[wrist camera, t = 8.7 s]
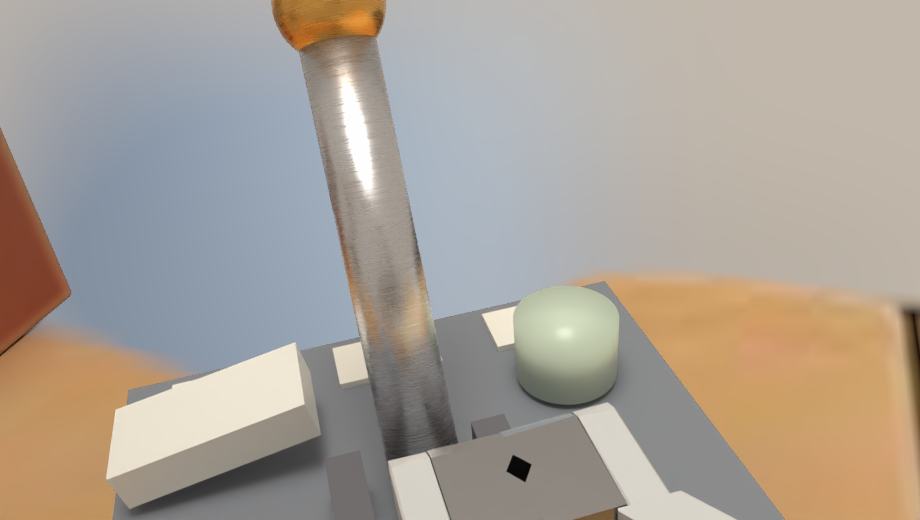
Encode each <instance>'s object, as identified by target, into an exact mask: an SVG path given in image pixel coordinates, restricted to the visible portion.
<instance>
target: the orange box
mask: <svg viewBox="0 0 920 520" xmlns="http://www.w3.org/2000/svg"><path fill="white" fill-rule="evenodd" d="M70 294H71V290H70V288H69V285H68V283H67V281H66V278H65V276H64V274H63V271H62V269H61V267H60V264H59V262H58V260H57V257H56V255H55V253H54V251H53V248H52V246H51V244H50V241H49V239H48V237H47V235H46V232H45V230H44V228H43V225H42V223H41V220H40V218H39V216H38V214H37V211H36V209H35V207H34V204H33V202H32V200H31V197H30V195H29V193H28V190H27V188H26V186H25V183H24V181H23V179H22V177H21V174H20V172H19V170H18V167H17V165H16V163H15V161H14V158H13V156H12V154H11V151H10V149H9V147H8V144H7V142H6V140H5V137H4V135H3V133H2V130H1V128H0V354H1V353H2V352H3V351H4V350H6V349H7V348H8V347H9V346H10V345H12V344H13V343H14V342H15V341H16V340H18V339H19V338H20V337H21V336H22V335H24V334H25V333H26V332H27V331H28V330H30V329H31V328H32V327H33V326H35V325H36V324H37V323H38V322H39V321H41V320H42V319H43V318H44V317H45V316H47V314H49V313H50V312H51V311H53V310H54V309H55V308H56V307H57V306H59V305H60V304H61V303H62V302H63V301H65V300H66V299H67V298H68V297H70Z"/></svg>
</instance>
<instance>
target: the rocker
mask: <svg viewBox="0 0 920 520" xmlns="http://www.w3.org/2000/svg"><path fill="white" fill-rule="evenodd" d="M320 435H321V432H320V426H319V420H318V414H317V408H316V403H315V397H314V391H313V385H312V379H311V373H310V370H309V368H308V366H307V365H306V363H305V361H304V359H303V357H302V355H301V353H300V351H299V349H298V347H297V345H296V343H292V344H289V345H287V346H284V347H281V348H279V349H276V350H274V351H271V352H268V353H265V354H263V355H260V356H257V357H255V358H252V359H249V360H247V361H244V362H241V363H239V364H236V365H233V366H231V367H228V368H225V369H223V370H220V371H217V372H215V373H212V374H209V375H207V376H204V377H201V378H199V379H196V380H194V381H191V382H188V383H186V384H183V385H180V386H178V387H175V388H172V389H170V390H167V391H164V392H162V393H159V394H156V395H154V396H151V397H148V398H146V399H143V400H140V401H138V402H135V403H132V404H130V405H127V406H124V407H122V408H119V409H116V411H115V419H114V426H113V433H112V440H111V447H110V455H109V462H108V469H107V476H106V481H107V482H108V483H109V484H110V486H111V487H112V488H113V489H114V491H115V492H116V493H117V494H118V496H119V497H120V498H121V499H122V501H123V502H124V503H125V504H126V505H127V507H128V508H129V509H131V508H133V507H136V506H138V505H141V504H144V503H146V502H149V501H151V500H154V499H157V498H159V497H162V496H164V495H167V494H170V493H172V492H175V491H177V490H180V489H182V488H185V487H188V486H190V485H193V484H195V483H198V482H201V481H203V480H206V479H208V478H211V477H214V476H216V475H219V474H221V473H224V472H227V471H229V470H232V469H234V468H237V467H240V466H242V465H245V464H247V463H250V462H252V461H255V460H258V459H260V458H263V457H265V456H268V455H271V454H273V453H276V452H278V451H281V450H284V449H286V448H289V447H291V446H294V445H297V444H299V443H302V442H304V441H307V440H309V439H312V438H315V437H317V436H320Z"/></svg>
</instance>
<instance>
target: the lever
mask: <svg viewBox="0 0 920 520" xmlns="http://www.w3.org/2000/svg"><path fill="white" fill-rule="evenodd" d="M271 2H272V3H271V4H272V12H273V16H274V20H275V22H276V25H277V27H278V29H279V31H280V33H281V34H282V36H283V37H284V39H285V40H286V41H287V42H288V43H289V44H290V45H291V46H292V47H293V48H294V49H295V50H297V51H298V52H299V54H300V58H301V63H302V68H303V73H304V77H305V82H306V87H307V92H308V96H309V101H310V105H311V110H312V115H313V120H314V125H315V129H316V134H317V138H318V143H319V148H320V152H321V157H322V162H323V167H324V172H325V176H326V181H327V185H328V190H329V195H330V200H331V204H332V209H333V214H334V219H335V223H336V228H337V232H338V237H339V242H340V247H341V251H342V256H343V261H344V266H345V270H346V275H347V280H348V284H349V289H350V294H351V299H352V303H353V308H354V313H355V317H356V322H357V327H358V331H359V336H360V341H361V346H362V350H363V355H364V360H365V364H366V369H367V374H368V379H369V383H370V388H371V393H372V397H373V402H374V407H375V411H376V416H377V421H378V426H379V430H380V435H381V440H382V444H383V449H384V454H385V458H386V463H387V468H388V461H390V460H394V459H398V458H402V457H406V456H410V455H414V454H419V453H423V452H426V453H427V451H428V450H432V449H436V448H440V447H444V446H449V445H453V444H457V443H458V439H457V434H456V429H455V424H454V419H453V414H452V409H451V404H450V399H449V394H448V390H447V385H446V380H445V375H444V370H443V365H442V360H441V355H440V350H439V345H438V340H437V335H436V330H435V326H434V321H433V316H432V311H431V306H430V301H429V296H428V291H427V286H426V281H425V277H424V271H423V266H422V262H421V257H420V252H419V248H418V242H417V237H416V233H415V228H414V222H413V217H412V212H411V207H410V202H409V198H408V193H407V188H406V184H405V178H404V173H403V169H402V163H401V158H400V153H399V148H398V143H397V138H396V134H395V129H394V124H393V119H392V114H391V109H390V104H389V100H388V94H387V89H386V85H385V79H384V74H383V70H382V65H381V60H380V55H379V50H378V45H377V40H376V38H377V37H378V35H379V33H380V31H381V29H382V26H383V23H384V19H385V12H386V0H271ZM388 473H389V469H388ZM389 477H390V474H389ZM390 482H391V479H390ZM391 485H392V484H391Z"/></svg>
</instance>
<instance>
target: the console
mask: <svg viewBox="0 0 920 520" xmlns="http://www.w3.org/2000/svg"><path fill="white" fill-rule="evenodd" d="M582 287H583V288H587V289H591V290H594V291H596V292H598V293H600V294H602V295H604V296H605V297H607V298H608V299H609V300H611V301H612V303H613V304H614V305H615V306H616V308H617V310H618V313H619V339H618V364H617V377H616V380H615V383H614V384H613V386H612V387H611V388H610V389H609V390H608V392H606V393H605V394H604V395H602V396H601V397H599V398H597V399H595V400H592V401H589V402H586V403H581V404H574V405H561V404H554V403H549V402H546V401H543V400H540V399H538V398H536V397H534V396H532V395H531V394H529V393H528V392H527V391H526V390H525V389H524V388H523V387H522V386H521V384H520V383H519V381H518V379H517V375H516V364H515V346H514V327H513V314H514V310H515V308H516V306H517V305H518V304H519V302H520V301H521V300H520V301H516V302H512V303H507V304H503V305H499V306H494V307H490V308H485V309H481V310H477V311H472V312H468V313H464V314H459V315H455V316H450V317H446V318H442V319H438V320H433V321H434V326H435V330H436V335H437V340H438V345H439V350H440V355H441V360H442V365H443V370H444V375H445V380H446V385H447V390H448V394H449V399H450V404H451V409H452V414H453V419H454V424H455V429H456V434H457V439H458V443H461V442H465V441H469V440H473V439H477V438H482V437H486V436H490V435H494V434H498V433H499V432H502V431H506V430H509V429H513V428H516V427H520V426H523V425H527V424H531V423H534V422H538V421H541V420H545V419H548V418H552V417H555V416H559V415H563V414H566V413H570V414H571V413H572V412H574V411H578V410H581V409H585V408H589V407H592V406H596V405H600V404H603V403H607V402H608V403H609V404H611V405H612V406H614V408H615V409H616V411H617V412H618V414H619V415H620V417H621V418H622V420H623V421H624V423H625V424H626V426H627V428H628V429H629V431H630V432H631V434H632V435H633V437H634V438H635V440H636V441H637V443H638V444H639V446H640V448H641V449H642V451H643V452H644V454H645V455H646V457H647V458H648V460H649V461H650V463H651V464H652V466H653V468H654V469H655V471H656V472H657V474H658V475H659V477H660V478H661V480H662V481H663V483H664V484H665V486H666V488H667V489H668V491H669V492H670V493H673V492H677V491H680V490H681V491H683V492H685V493H687V494H689V495H691V496H693V497H695V498H697V499H699V500H700V501H702V502H704V503H706V504H708V505H710V506H712V507H714V508H716V509H718V510H720V511H721V512H723V513H725V514H727V515H729V516H731V517H733V518H735V519H737V520H785V519H784V517H783V516H782V515H781V513H780V512H779V511H778V510H777V508H776V507H775V506H774V504H773V503H772V502H771V500H770V499H769V498H768V496H767V495H766V494H765V492H764V491H763V490H762V488H761V487H760V486H759V484H758V483H757V482H756V480H755V479H754V478H753V476H752V475H751V474H750V473H749V471H748V470H747V469H746V467H745V466H744V465H743V463H742V462H741V461H740V459H739V458H738V457H737V455H736V454H735V453H734V451H733V450H732V449H731V447H730V446H729V445H728V443H727V442H726V441H725V439H724V438H723V437H722V435H721V434H720V433H719V432H718V430H717V429H716V428H715V426H714V425H713V424H712V422H711V421H710V420H709V418H708V417H707V416H706V414H705V413H704V412H703V410H702V409H701V408H700V406H699V405H698V404H697V402H696V401H695V400H694V398H693V397H692V396H691V395H690V393H689V392H688V391H687V389H686V388H685V387H684V385H683V384H682V383H681V381H680V380H679V379H678V377H677V376H676V375H675V373H674V372H673V371H672V369H671V368H670V367H669V365H668V364H667V363H666V361H665V360H664V359H663V358H662V356H661V355H660V354H659V352H658V351H657V350H656V348H655V347H654V346H653V344H652V343H651V342H650V340H649V339H648V338H647V336H646V335H645V334H644V332H643V331H642V330H641V328H640V327H639V326H638V324H637V323H636V322H635V321H634V319H633V318H632V317H631V315H630V314H629V313H628V311H627V310H626V309H625V307H624V306H623V305H622V303H621V302H620V301H619V299H618V298H617V297H616V295H615V294H614V293H613V291H612V290H611V289H610V287H609V286H608V285H607V283H606V282H605V281H604V282H599V283H595V284H590V285H586V286H582ZM300 353H301V355H302V357H303V359H304V361H305V363H306V365H307V366H308V368H309V370H310V373H311V379H312V385H313V391H314V397H315V403H316V408H317V414H318V420H319V426H320V432H321V435H320V436H317V437H315V438H312V439H309V440H307V441H304V442H302V443H299V444H297V445H294V446H291V447H289V448H286V449H284V450H281V451H278V452H276V453H273V454H271V455H268V456H265V457H263V458H260V459H258V460H255V461H252V462H250V463H247V464H245V465H242V466H240V467H237V468H234V469H232V470H229V471H227V472H224V473H221V474H219V475H216V476H214V477H211V478H208V479H206V480H203V481H201V482H198V483H195V484H193V485H190V486H188V487H185V488H182V489H180V490H177V491H175V492H172V493H170V494H167V495H164V496H162V497H159V498H157V499H154V500H151V501H149V502H146V503H144V504H141V505H138V506H136V507H133V508H131V509H129V508H128V507H127V505H126V504H125V503H124V502H123V501H122V499H121V498H120V497H119V496H118V494H117V493H116V497H115V505H114V513H113V520H398V515H397V510H396V505H395V500H394V495H393V489H392V485H391V482H390V477H389V473H388V468H387V463H386V458H385V454H384V449H383V444H382V440H381V435H380V430H379V426H378V421H377V416H376V411H375V407H374V402H373V397H372V393H371V388H370V383H369V379H368V374H367V369H366V364H365V360H364V355H363V350H362V346H361V341H360V337H359V338H354V339H350V340H346V341H341V342H337V343H333V344H328V345H324V346H319V347H315V348H311V349H306V350H302V351H300ZM227 368H228V367H227ZM223 369H225V368H223ZM223 369H218V370H214V371H210V372H205V373H201V374H196V375H192V376H188V377H183V378H179V379H175V380H170V381H166V382H161V383H157V384H153V385H148V386H144V387H140V388H135V389H131V390H129V391H128V399H127V405H130V404H132V403H135V402H138V401H140V400H143V399H146V398H148V397H151V396H154V395H156V394H159V393H162V392H164V391H167V390H170V389H172V388H175V387H178V386H180V385H183V384H186V383H188V382H191V381H194V380H196V379H199V378H201V377H204V376H207V375H209V374H212V373H215V372H217V371H220V370H223Z"/></svg>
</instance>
